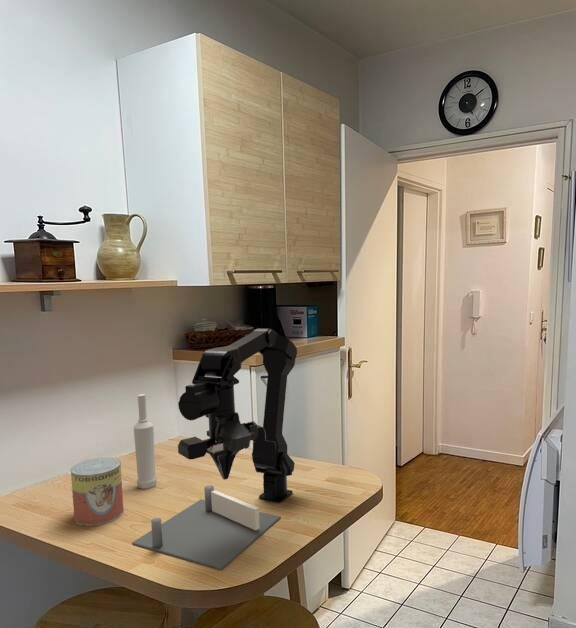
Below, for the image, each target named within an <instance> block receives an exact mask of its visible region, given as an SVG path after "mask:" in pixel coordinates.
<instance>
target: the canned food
mask: <svg viewBox="0 0 576 628" xmlns="http://www.w3.org/2000/svg"><path fill="white" fill-rule="evenodd" d="M121 467H122V462H121V460H120V459H118V458H113V457H98V458H93V459H88V460H84V461H81V462H79V463H77V464H75V465H73V466H72V467H71V468H70V476H71V491H72V504H73V505H72V506H73V517H74V518H73V522H74V521H75V522H76V523H77V525H78V524H79V526H82V525H86V526H85V527H89V526H88V525H91V526H90V527H93V526H92V525H96V526H101V525H105V524H108V523H111V522H114V521H115V520H117V519H119V518H120V517H121V516H123V514H124V512H125V509H124V496H123V481H122V478H123V477H122V468H121ZM119 516H120V517H119ZM118 517H119V518H118ZM110 521H111V522H110ZM75 522H74V523H75ZM76 523H75V524H76ZM104 523H105V524H104Z"/></svg>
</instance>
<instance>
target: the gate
mask: <svg viewBox="0 0 576 628" xmlns="http://www.w3.org/2000/svg"><path fill="white" fill-rule="evenodd" d="M203 490H204V500H205V509H206V510H207V511H211V510H212V511H213V512H216V513H218V514H220V515H222V516H225V517H227V518H229V519H231V520H233V521H236V522H238V523H240V524H242V525H245V526H247V527H249V528H251V529H253V530H258V529H259V528H260V525H259V512H260V508H259V507H258V506H255V505H253V504H250V503H248V502H245V501H243V500H241V499H238V498H236V497H233V496H230V495H228V494H226V493H223V492H221V491H218V490H215V487H214V485H210V484H209V485H206V486H204V489H203Z"/></svg>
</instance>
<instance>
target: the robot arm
mask: <svg viewBox="0 0 576 628" xmlns="http://www.w3.org/2000/svg"><path fill="white" fill-rule="evenodd" d="M257 353H259V354H260V355H261V356H262V365H263V367H264V370H265V371H266V373H267V379H266V380H267V382H266V391H265V392H266V393H265V402H264V410H263V411H264V414H263V422H262V423H263V424H262V426H261V425H258V424H257V422H255V421H254V420H253V421H247V422H244V423H241V420H240V415H239V412H236V406H235V405H236V404H235V387H234V386H235V385H238V384H239V383H240V380H239V379H238V378H237V377H236V376H235V375H236V374H237V373H238V372H239V371H240V370H241V369H242V364H243V362H245V361H247V360H248V359H249V358H251V357H252V356H254V355H256V354H257ZM297 355H298V348H297V346H296V345H295V344H294V343H293V341H292V340H290V339H289V338H287V337H285V336H283V335H281V334H279V333H278V332H276V331H275V329H272V328H261V327H260V328H259V327H257V328H256V329H254V330H253V331H252V332H251V333H249V334H247V335H245V336H243V337H242V338H240V339H238V340H236V341H235V342H233V343H230V344H229V345H226V346H221V347H219V346H218V347H213V348H210V349H207V350H205V351H204V352H203V353H202V354H201V358H200V360H199V362H198V366H197V367H196V370H195V373H194V375H193V378H192V381H191V384H189V385H186V386H185V392H183V393H182V394H181V395H180V397H179V401H178V404H177V405H178V410H179V412H180V415H181V416H182V417H183V418H184V419H186V420H187V421H194V420H195V421H196V420H198V419H200V418H203V417H205V418H208V430H206V436H207V437H209V438H205V439H201V438H199V437H197V436H193V437H189V438H188V437H187V438H185V439H180V441H179V443H178V444H177V451H178V452H177V453H178V454H179V455H180V456H183V457H184V458H186V459H188V460H196V459H200V458H203V457H205V456H206V454H208V455H209V456H210V457H211V458H212V461H213V462H214V464H215V466H216V468H217V470H218V472H219V475H220V477H221V478H222V480H228V479H229V477H230V473H231V469H232V468H233V463H234V460H235V458H236V456H237V454H238V453H239V452H240V451H243V450H244V449H245V450H246V449H249V448H250V444H251V441H252V451H251V459H252V463H253V466H254V469H255V472H256V473H261V474H263V475H262V477H263V481H262V482H263V484H262V485H263V492H262V493H261V494H260V495H259V496H258V498H259V499H260V500H266V501H271V502H276V503H282V502H284V501H285V500H286V499H287V498H288V497H290V496H291V495H292V494H293V490H291V489H288V480H287V479H288V477H289V476H292V475H293V472H294V471H295V462H294V460H293V459H292V458H291V457H290V455H289V453H288V444H287V441H286V439H285V437H284V434H283V428H284V427H283V425H284V415H285V406H286V405H285V403H286V395H287V394H286V393H287V381H288V380H287V379H288V375H290V373H291V372H292V370H293V369H294V367H295V363H296V358H297Z"/></svg>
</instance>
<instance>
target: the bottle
mask: <svg viewBox="0 0 576 628" xmlns="http://www.w3.org/2000/svg"><path fill="white" fill-rule="evenodd" d="M146 397H147V396H146V394H144V393H141V394H138V395H137V404H138V420H137V423H136V424H135V425H133V435H134V436H133V438H134V439H133V440H134V449H135V450H134V451H135V459H136V472H137V479H136V485H137V487H138V488H139V489H141V490H149V489H151V488H153V487H155V486H156V485H157V476H156V463H155V461H156V460H155V458H156V457H155V435H154V433H155V432H154V424H153V423H152V422H151V421H149V419H148V418H147V401H146V400H147V399H146Z"/></svg>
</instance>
